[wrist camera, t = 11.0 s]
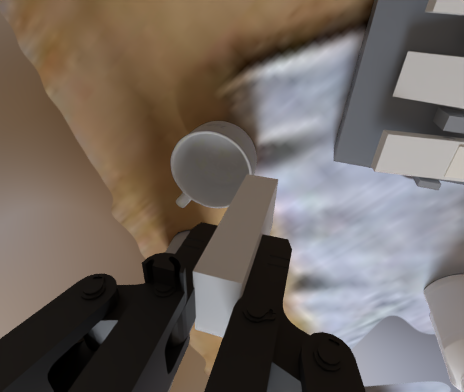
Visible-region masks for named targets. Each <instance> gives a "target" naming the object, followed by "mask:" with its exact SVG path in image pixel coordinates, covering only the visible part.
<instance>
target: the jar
mask: <svg viewBox="0 0 464 392" xmlns="http://www.w3.org/2000/svg"><path fill="white" fill-rule="evenodd" d="M424 296H425V299H426V302H427V303H428V306H429V309H430V315H429V317H430V321H431V324H432V327H433V328H434V331H435V334H436V337H437V340H438V343H439V346H440V349H441V352H442V355H443V358H444V361H445V364H446V367H447V370H448V375H449V378H450V381H451V383H452V385H453V386H455V387H456V388H458V389H459V390H460V391H462V392H464V274H458V275H451V276H447V277H444V278H441V279H439V280H436V281H435V282H433V283H431V284H430V285H429V286H427V287H426V288H425V290H424Z"/></svg>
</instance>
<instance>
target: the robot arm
mask: <svg viewBox="0 0 464 392" xmlns="http://www.w3.org/2000/svg"><path fill="white" fill-rule="evenodd" d="M277 185H278V179H272V178H266V177H260V176H254V175H248V174H247V175H246V177H245V178H244V180H243V182H242V184H241V186H240V187H239V189H238V191H237V193H236V195H235V196H234V198H233V200H232V202H231V204H230V205H229V207H228V209H227V211H226V212H225V214H224V216H223V218H222V220H221V221H220V223H219V225H218V226H217V225H212V224H207V223H202V222H201V223H200V224H198V225H197V226H195V227H194V228H192V229H191V231H190V232H189V234H188V235H187V237H186V239H185V240H184V241H183V243H182V245H181V246H180V247H179V249H178V250H177V252H176V253H175V254H173V253H159V254H155V255H152V256H150V257H148V258H147V259H146V260H145V261H144V262H142V267H143V273H144V279H145V283H144V284H138V285H117V284H116V280H115V279H114V278H113V277H112V276H110V275H107V274H94V275H90V276H87V277H85V278H84V279H82V280H80V281H79V282H77V283H76V284H74V285H73V286H72V287H70V288H69V289H67V290H66V291H65V292H63V293H62V294H61V295H60V296H58V297H57V298H55V299H54V300H53V301H51V302H50V303H49V304H47V305H46V306H44V307H43V308H42V309H40V310H39V311H38V312H36V313H35V314H33V315H32V316H31V317H29V318H28V319H27V320H25V321H24V322H23V323H21V324H20V325H19V326H17V327H16V328H14V329H13V330H12V331H10V332H9V333H8V334H6V335H5V336H4V337H2V338H1V339H0V392H168V390H169V388H170V386H171V383H172V381H173V379H174V376H175V374H176V372H177V370H178V367H179V365H180V363H181V361H182V358H183V356H184V354H185V351H186V349H187V347H188V344H189V340H190V334H189V332H190V330H191V327H192V325H193V323H194V321H195V329H196V330H199V331H203V332H206V333H209V334H213V335H216V336H219V337H223V339H222V342H221V345H220V348H219V351H218V354H217V357H216V360H215V362H214V365H213V368H212V371H211V374H210V377H209V380H208V382H207V385H206V388H205V391H204V392H365V389H364V385H363V382H362V379H361V376H360V373H359V369H358V366H357V363H356V360H355V357H354V355H353V353H352V351H351V349H350V348H349V347H348V346H347V345H346V344H345V343H344V342H343V341H342V340H341V339H339V338H337V337H336V336H334V335H332V334H328V333H324V332H321V333H313V334H312V335H309V334H307V333H305V332H304V331H302V330H300V329H299V328H297V327H296V326H295V325H293V324H292V323H291V322H290V321H289V319H288V318H287V317H286V315H285V313H284V310H283V297H284V291H285V286H286V280H287V274H288V269H289V263H290V258H291V252H292V248H291V246H290V243H289V241H288V239H283V238H278V237H273V236H269V235H270V231H271V228H272V222H273V214H274V207H275V199H276V192H277Z"/></svg>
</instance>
